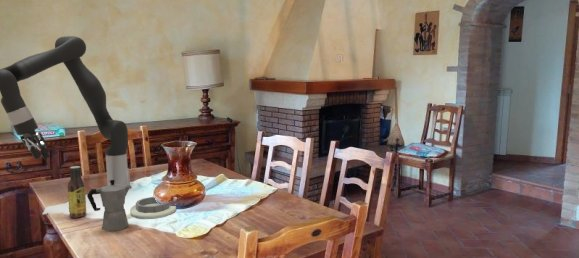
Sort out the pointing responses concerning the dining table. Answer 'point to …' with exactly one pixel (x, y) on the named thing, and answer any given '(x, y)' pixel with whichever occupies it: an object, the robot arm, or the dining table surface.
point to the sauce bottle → (76, 193)
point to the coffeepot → (112, 205)
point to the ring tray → (151, 215)
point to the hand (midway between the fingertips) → (42, 158)
